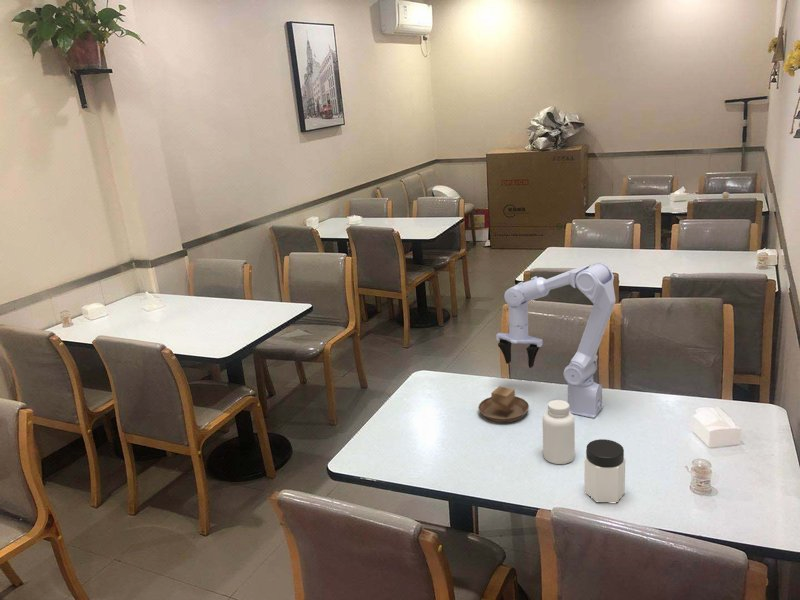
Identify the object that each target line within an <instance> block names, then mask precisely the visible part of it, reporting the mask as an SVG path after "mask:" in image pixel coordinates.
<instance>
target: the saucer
mask: <svg viewBox="0 0 800 600" xmlns="http://www.w3.org/2000/svg"><path fill="white" fill-rule="evenodd" d="M529 409H530V405H529V402H528V401H526V400H525V399H523V398H521V397H519V396H516V395H515V405H514V406H513V407H512V408H511V409H510V410H509V411H508V412H506V411H502V410H497V409H493V408H492V397H491V396H490V397H487V398H485V399H483V400H481V402H480V403H479V404H478V410H479V412H480V414H481V415H482V416H483V417H484V418H486V419H488V420H489V421H492V422H495V423H511V422H515V421H518V420H520V419H521V418H523V416H524V415H526V413H527V412H528V410H529Z"/></svg>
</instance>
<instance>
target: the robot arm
mask: <svg viewBox="0 0 800 600" xmlns="http://www.w3.org/2000/svg"><path fill="white" fill-rule="evenodd" d="M614 277H615V275H614V274H613V272H612V270H611V269H610V268H609V266H608V265H606V264H605V263H603V262H596V263H593V264H592V265H591V264H588V265H583V266H579V267H576V268H573V269H570V270H568V271H565V272H563V273H560V274H558V275H555V276H552V277H549V278H544V277H542V276H537V275H536V276H533V277H531V278H530V280H527V281H525V282H523V281H521V282H518V283H517V284H516V285H513V286H512V287H509V288H508V289H507V290H505V292H504V300H505V303H506V304H507V305H508V307H507V308H508V330H509V331H508V332H506V333H505V332H498V333H496V334H495V339H496V341H499V342H498V343H497V346H498V348H499V349H500V351H501V352H502V354H503V358H504V360H505V363H506V364H508V365H509V364H510V363H511V362H512V344H516V345H517V344H523V345H529V346H528V347H526V352H527V358H528V364H527V365H528V368H530V369H532V368H533V367H534V364H535V361H536V357H537V354H538V352H539V351H540V350H539V349H541V348H540V347H542V346H543V342H544V341H543V339H542V338H538V337H534V336H532V335H529V311H528V309H529V308H528V306H529V302H531V301H534V300H537V299H540V298H543V297H546V296H548V295H549V293H550V291H552V290H554V289H558V288H562V287H564V286H565V287H566V286H567V285H570V286H571V287H572V288H574V289H576V288H577V289H578V290H579V291H580V292H581V293H582V294H584V296H585V297H587V299H589V301H590V302H591V303H592V304H593V306H592V308H591V311H590V314H589V317H588V320H587V322H586V325H585V329H584V331H583V333H582V337H581V339H580V343H579V344H578V347H577V351H576V353H575V354H574V356H573V357H572V358H571V359H570V362H569V364H568V365H567V366H565V368H564V370H563V378H564V380H565V381H566V382H567V403H568V404H569V405H570V410H569V412H570V413H571V414H572V415H578V416H582V417H588V418H592V419H595V418H596V417H597V415H598V414H599V413H600V412H601V411H602V410H603V407H604V405H603V385H602V384H601V383H600V384H599V383H597V382H596V381H594V374H595V373H596V372H597V370H598V364H597V361H598V358H599V356H598V355H597V353H598V350H599V348H600V346H601V345H600V344H601V342H602V339H603V337H604V334H605V331H606V328H607V327H608V323H609V320H610V318H611V316H612V312H613V310H614V307H615V304H616V299H617V298H616V293H615V288H614V280H615V278H614Z"/></svg>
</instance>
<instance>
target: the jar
mask: <svg viewBox="0 0 800 600" xmlns="http://www.w3.org/2000/svg"><path fill="white" fill-rule="evenodd" d="M624 451H625V450H624V447H623V445H621V444H620V443H619V442H616V441H615V440H611V439H606V438H605V439H604V438H603V439H602V438H601V439H595V440H592V441H590V442H588V443H587V445H586V450H585V454H586V456H585V457H584V478H583V479H584V487H583V488H584V489H583V490H584V491H583V492H584V493H585V492H586V493H587V494H588V495H589V496H591V498H590V499H592V498H593V499H594V500H595V501H598V502H618V503H619V501H620V500H621V499H622V498H623V496H624V495H625V492H626V491H625V486H626V484H625V483H626V458H625V452H624ZM586 493H585V494H586ZM587 494H586V495H587ZM623 494H624V495H623ZM588 495H587V496H588ZM622 495H623V496H622ZM589 496H588V497H589ZM620 498H621V499H620ZM593 499H592V500H593ZM619 499H620V500H619ZM594 500H593V501H594ZM595 501H594V502H595Z"/></svg>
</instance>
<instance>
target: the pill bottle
mask: <svg viewBox="0 0 800 600" xmlns="http://www.w3.org/2000/svg"><path fill="white" fill-rule="evenodd" d="M569 410H570V405H569V404H568V401H566V400H561V399H554V400H551V401H549V402H548V403H547V411H546V412H544V414H543V416H542V419H541V420H542V423H541V424H542V455H543V457H544V460H545V461H547V462H549V463H551V464H555V465H565V464H570V463H571V462H572V461H573V460H575V455H576V454H575V452H576V451H575V450H576V449H575V448H576V446H575V445H576V444H575V443H576V442H575V438H576V437H575V434H576V433H575V432H576V431H575V429H576V427H575V426H576V425H575V424H576V423H575V420H576V419H575V417H574V414H572V413H570V412H569Z"/></svg>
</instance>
